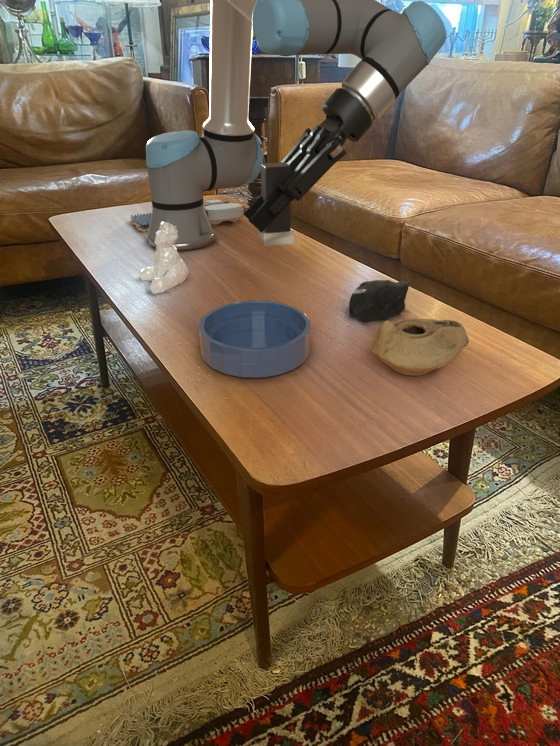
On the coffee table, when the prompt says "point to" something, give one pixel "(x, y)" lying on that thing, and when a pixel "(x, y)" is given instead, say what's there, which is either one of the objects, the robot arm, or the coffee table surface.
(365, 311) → the mineral
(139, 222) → the woven mat
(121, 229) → the coffee table surface
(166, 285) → the white creature statuette
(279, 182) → the eraser
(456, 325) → the oil lamp
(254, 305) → the bowl
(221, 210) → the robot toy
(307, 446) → the coffee table surface
